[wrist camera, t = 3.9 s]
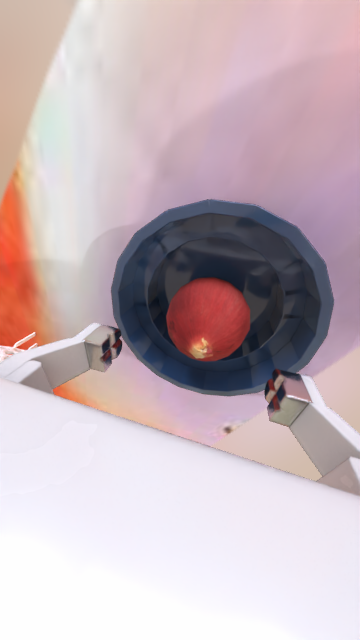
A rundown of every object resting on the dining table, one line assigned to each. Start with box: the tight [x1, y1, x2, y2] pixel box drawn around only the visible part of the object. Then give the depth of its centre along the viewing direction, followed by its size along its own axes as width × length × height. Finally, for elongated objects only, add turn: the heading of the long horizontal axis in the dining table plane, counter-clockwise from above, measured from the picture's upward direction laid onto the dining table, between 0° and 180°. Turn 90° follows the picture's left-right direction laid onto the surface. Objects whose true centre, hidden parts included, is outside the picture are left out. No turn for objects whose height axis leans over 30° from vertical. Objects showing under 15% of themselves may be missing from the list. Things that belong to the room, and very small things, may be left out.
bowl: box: [111, 199, 334, 396], centre depth 14 cm, size 14×14×5 cm
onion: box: [166, 277, 250, 361], centre depth 13 cm, size 6×6×8 cm
